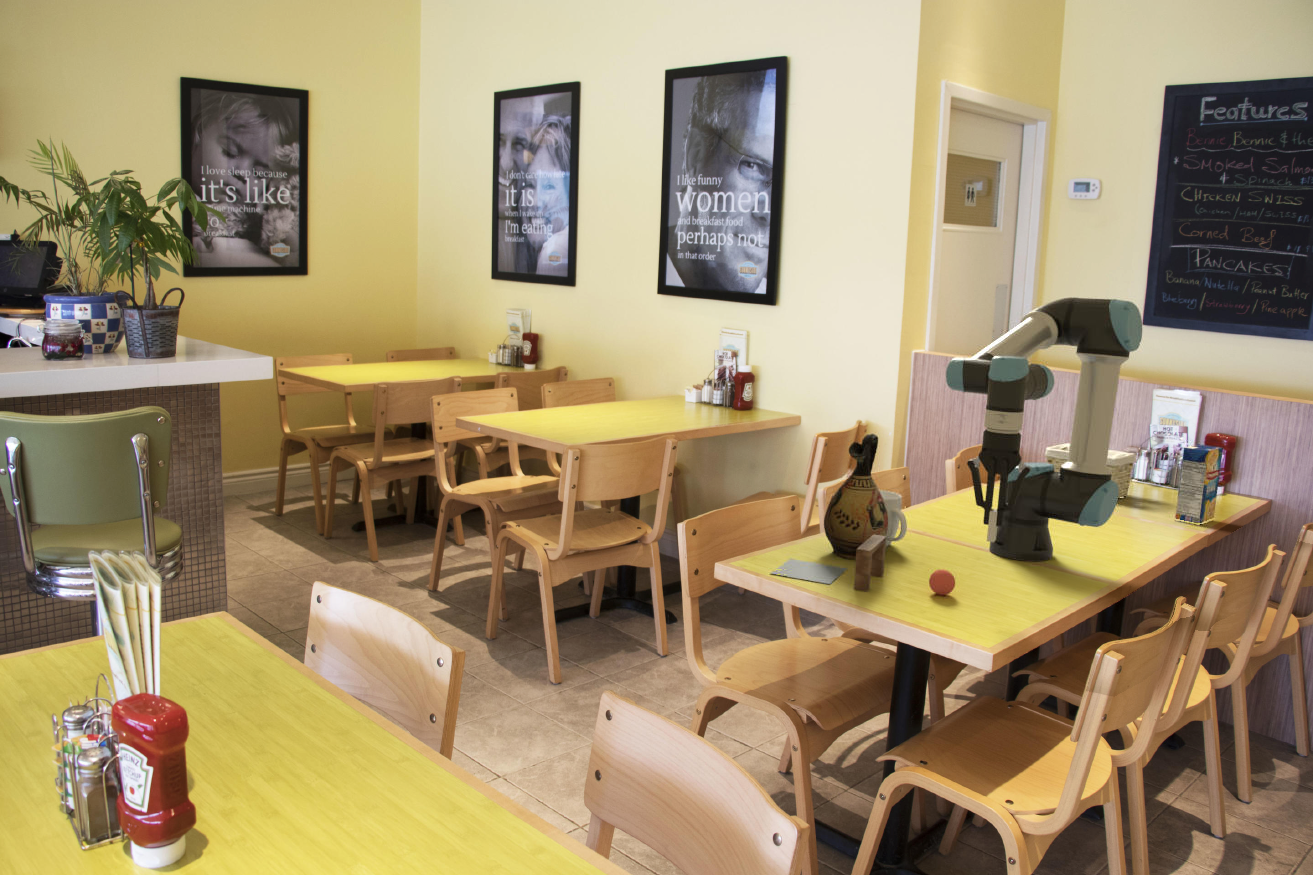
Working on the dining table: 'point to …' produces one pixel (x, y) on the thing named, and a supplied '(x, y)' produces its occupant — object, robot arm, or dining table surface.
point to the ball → (942, 582)
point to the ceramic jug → (856, 504)
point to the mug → (894, 516)
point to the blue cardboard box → (1198, 483)
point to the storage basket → (1116, 463)
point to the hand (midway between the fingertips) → (991, 540)
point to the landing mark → (810, 571)
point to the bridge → (869, 561)
